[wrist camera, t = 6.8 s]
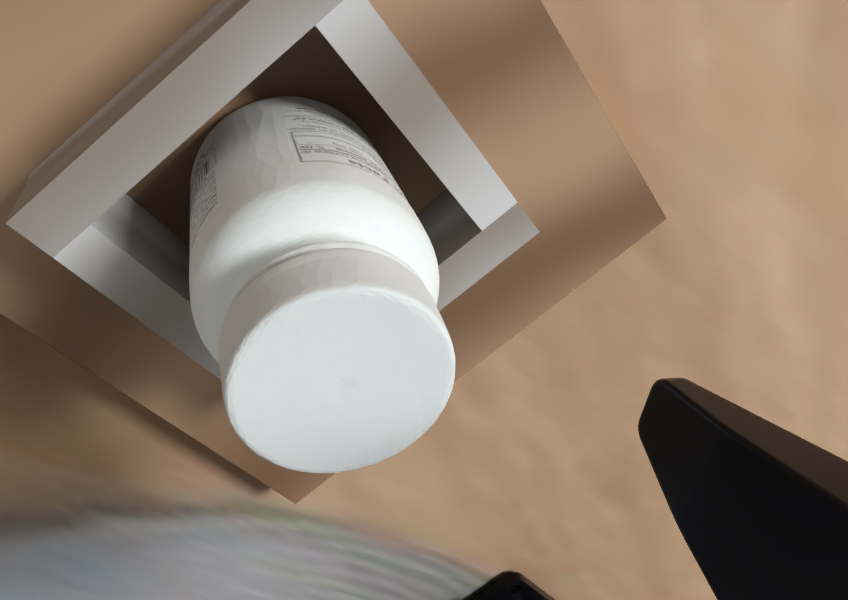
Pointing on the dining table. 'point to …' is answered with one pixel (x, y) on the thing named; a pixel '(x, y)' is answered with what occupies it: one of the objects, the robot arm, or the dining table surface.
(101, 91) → the board
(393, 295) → the pill bottle
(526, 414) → the dining table surface
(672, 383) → the robot arm
